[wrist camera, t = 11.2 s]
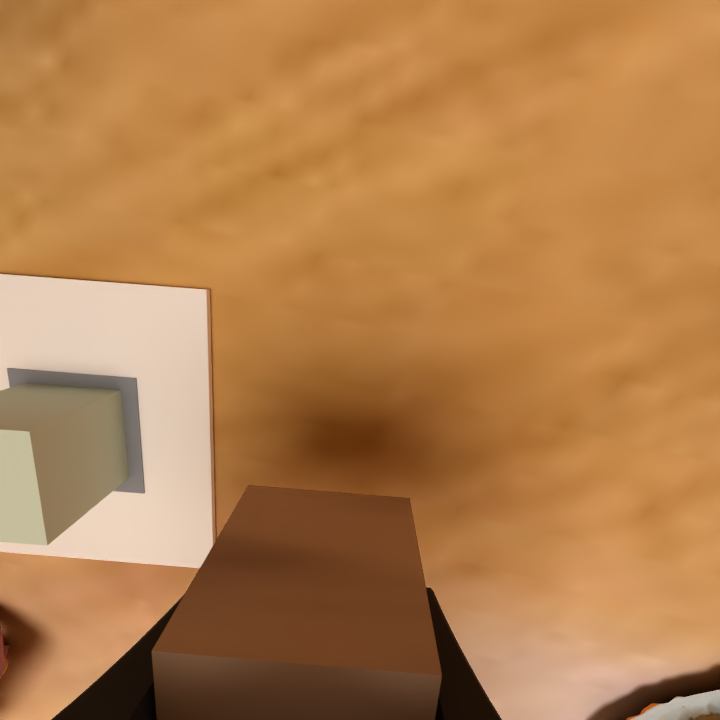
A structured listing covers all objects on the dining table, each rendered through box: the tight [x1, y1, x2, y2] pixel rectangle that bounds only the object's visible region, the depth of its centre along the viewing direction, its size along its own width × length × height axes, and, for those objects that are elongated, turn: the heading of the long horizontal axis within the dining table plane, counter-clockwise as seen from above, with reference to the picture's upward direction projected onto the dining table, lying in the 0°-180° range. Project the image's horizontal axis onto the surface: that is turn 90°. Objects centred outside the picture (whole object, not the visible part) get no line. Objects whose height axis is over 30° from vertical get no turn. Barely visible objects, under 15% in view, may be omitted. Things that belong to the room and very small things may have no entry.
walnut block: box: [152, 485, 442, 720], centre depth 9 cm, size 5×5×5 cm
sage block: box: [0, 383, 129, 545], centre depth 16 cm, size 5×5×5 cm
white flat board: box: [0, 274, 216, 568], centre depth 19 cm, size 16×14×1 cm
